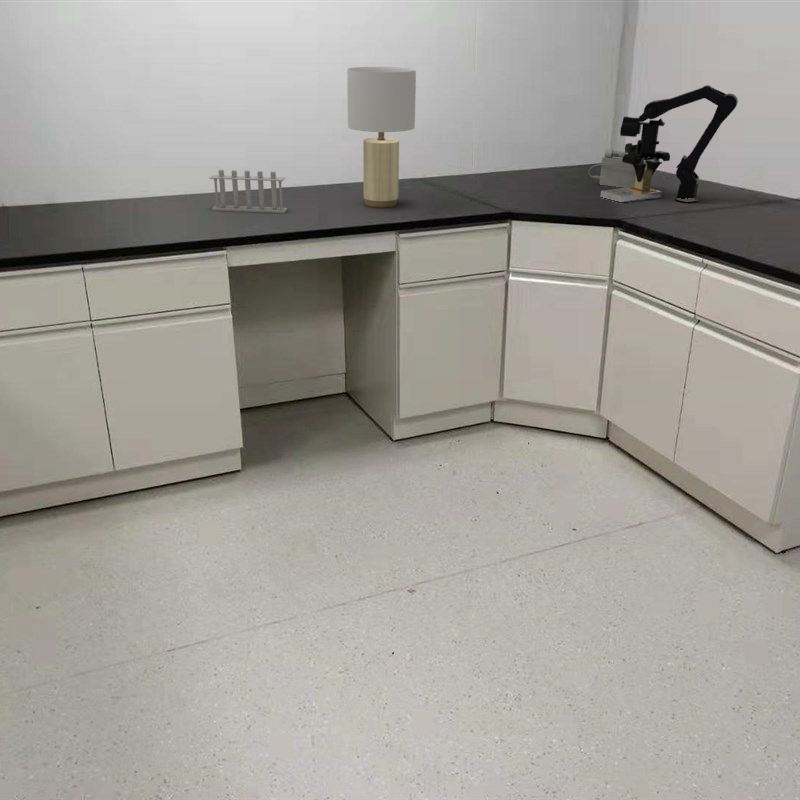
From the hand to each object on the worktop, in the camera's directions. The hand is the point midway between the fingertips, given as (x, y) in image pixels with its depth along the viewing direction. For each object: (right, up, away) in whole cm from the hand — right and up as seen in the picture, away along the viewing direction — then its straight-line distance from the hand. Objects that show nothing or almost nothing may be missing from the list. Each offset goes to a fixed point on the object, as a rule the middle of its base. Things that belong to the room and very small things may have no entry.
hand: (643, 181), depth 309 cm
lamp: (-97, -12, -15) cm, 99 cm away
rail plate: (-5, -6, 0) cm, 8 cm away
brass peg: (0, -3, +2) cm, 4 cm away
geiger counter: (-5, +2, +18) cm, 19 cm away
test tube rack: (-142, -17, -26) cm, 145 cm away
